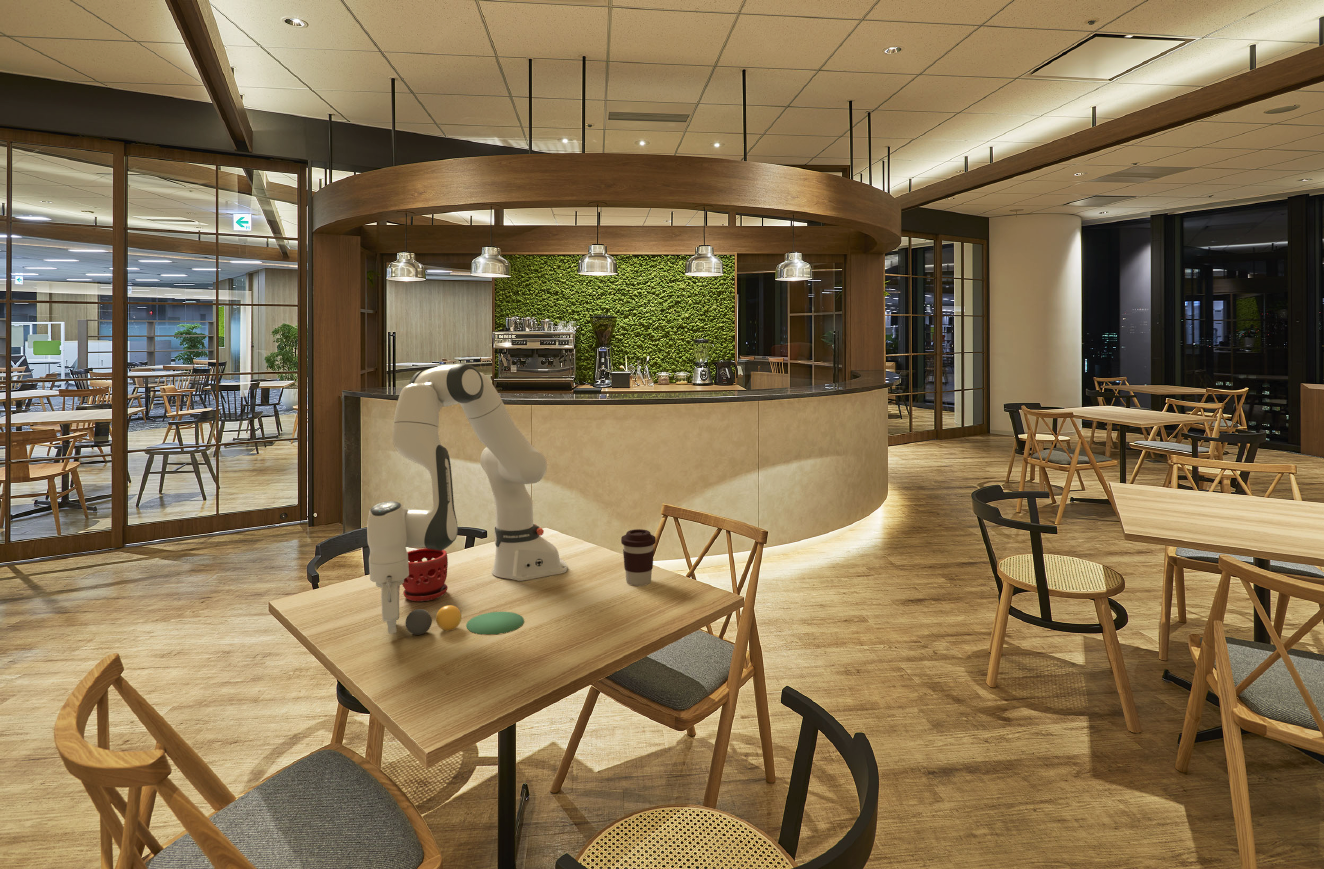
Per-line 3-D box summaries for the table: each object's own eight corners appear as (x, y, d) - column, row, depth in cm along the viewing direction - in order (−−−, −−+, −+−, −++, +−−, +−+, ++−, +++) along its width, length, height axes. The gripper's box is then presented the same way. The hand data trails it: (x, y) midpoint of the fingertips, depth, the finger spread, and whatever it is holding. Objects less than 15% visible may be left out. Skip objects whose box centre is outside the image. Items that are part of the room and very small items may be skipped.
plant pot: (426, 585, 205) (424, 544, 203) (459, 593, 198) (457, 551, 196) (388, 599, 193) (386, 556, 192) (422, 608, 187) (420, 564, 185)
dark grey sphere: (401, 611, 172) (410, 633, 173) (401, 621, 166) (410, 643, 167) (426, 601, 173) (435, 622, 175) (426, 610, 168) (435, 632, 169)
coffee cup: (615, 585, 204) (615, 534, 202) (630, 574, 213) (629, 526, 211) (647, 590, 200) (647, 538, 198) (660, 579, 209) (660, 529, 207)
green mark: (519, 609, 186) (519, 608, 186) (528, 630, 173) (528, 629, 173) (463, 616, 181) (463, 616, 181) (469, 638, 168) (469, 637, 168)
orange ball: (456, 626, 177) (463, 603, 177) (458, 636, 171) (465, 612, 171) (432, 623, 175) (438, 600, 174) (433, 632, 169) (440, 608, 169)
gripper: (403, 582, 162) (406, 640, 164) (403, 556, 181) (406, 608, 183) (373, 586, 160) (377, 644, 162) (376, 559, 179) (379, 611, 181)
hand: (392, 625), depth 172 cm, fingers open, 8 cm apart
